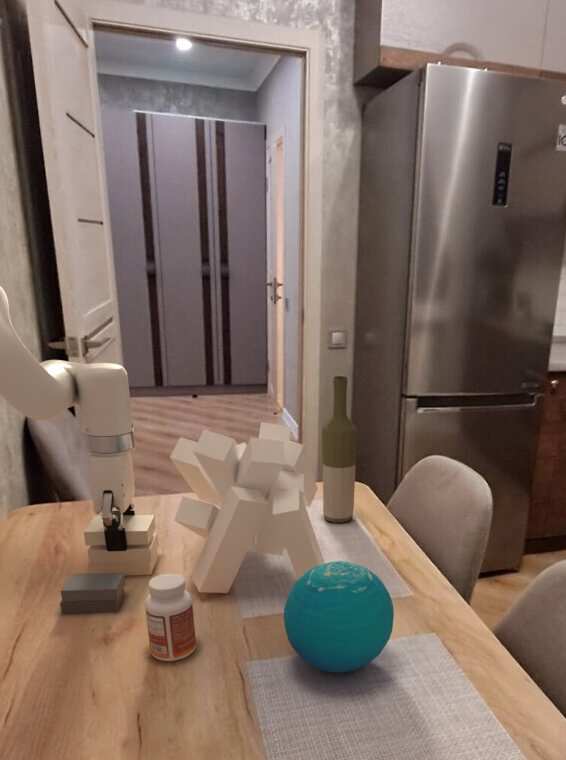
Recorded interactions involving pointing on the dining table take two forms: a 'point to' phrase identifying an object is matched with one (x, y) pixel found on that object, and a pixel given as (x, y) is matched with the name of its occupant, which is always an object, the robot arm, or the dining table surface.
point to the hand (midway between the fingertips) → (122, 540)
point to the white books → (124, 559)
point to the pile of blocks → (247, 502)
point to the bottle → (339, 458)
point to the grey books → (92, 593)
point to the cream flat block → (135, 527)
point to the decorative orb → (338, 616)
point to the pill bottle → (170, 618)
